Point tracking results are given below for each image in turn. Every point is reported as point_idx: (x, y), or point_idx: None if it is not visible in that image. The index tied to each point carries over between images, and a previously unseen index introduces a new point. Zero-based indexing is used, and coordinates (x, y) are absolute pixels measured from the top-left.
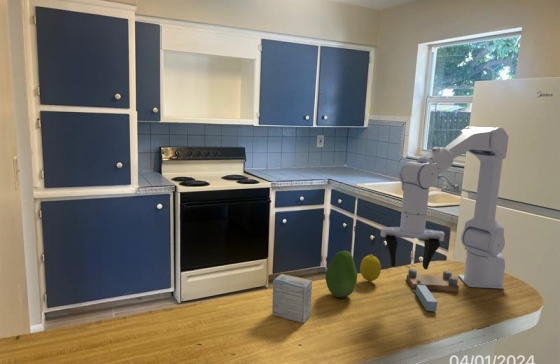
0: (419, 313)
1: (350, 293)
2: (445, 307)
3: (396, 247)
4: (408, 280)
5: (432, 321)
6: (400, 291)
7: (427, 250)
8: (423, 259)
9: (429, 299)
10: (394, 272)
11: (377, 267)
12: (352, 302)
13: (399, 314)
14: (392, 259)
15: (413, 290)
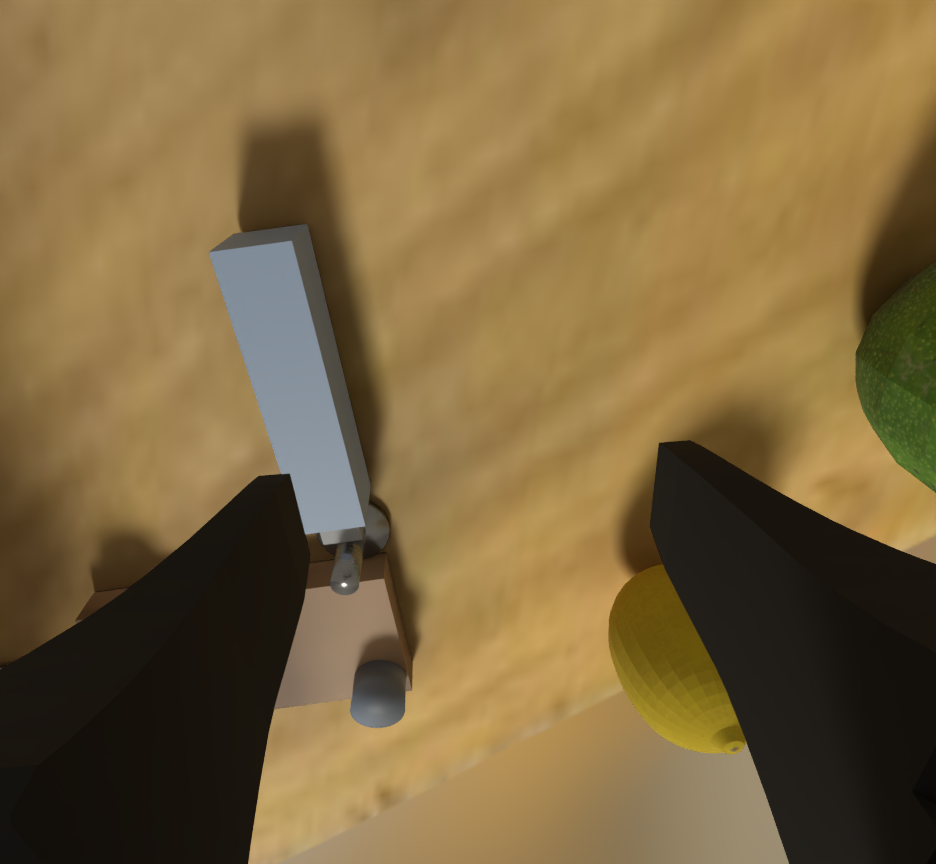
0: (365, 182)
1: (889, 301)
2: (168, 342)
3: (855, 600)
4: (404, 640)
5: (267, 50)
6: (469, 502)
7: (189, 689)
8: (291, 622)
9: (275, 285)
10: (474, 722)
11: (660, 639)
12: (853, 241)
13: (528, 117)
14: (749, 479)
15: (383, 525)
